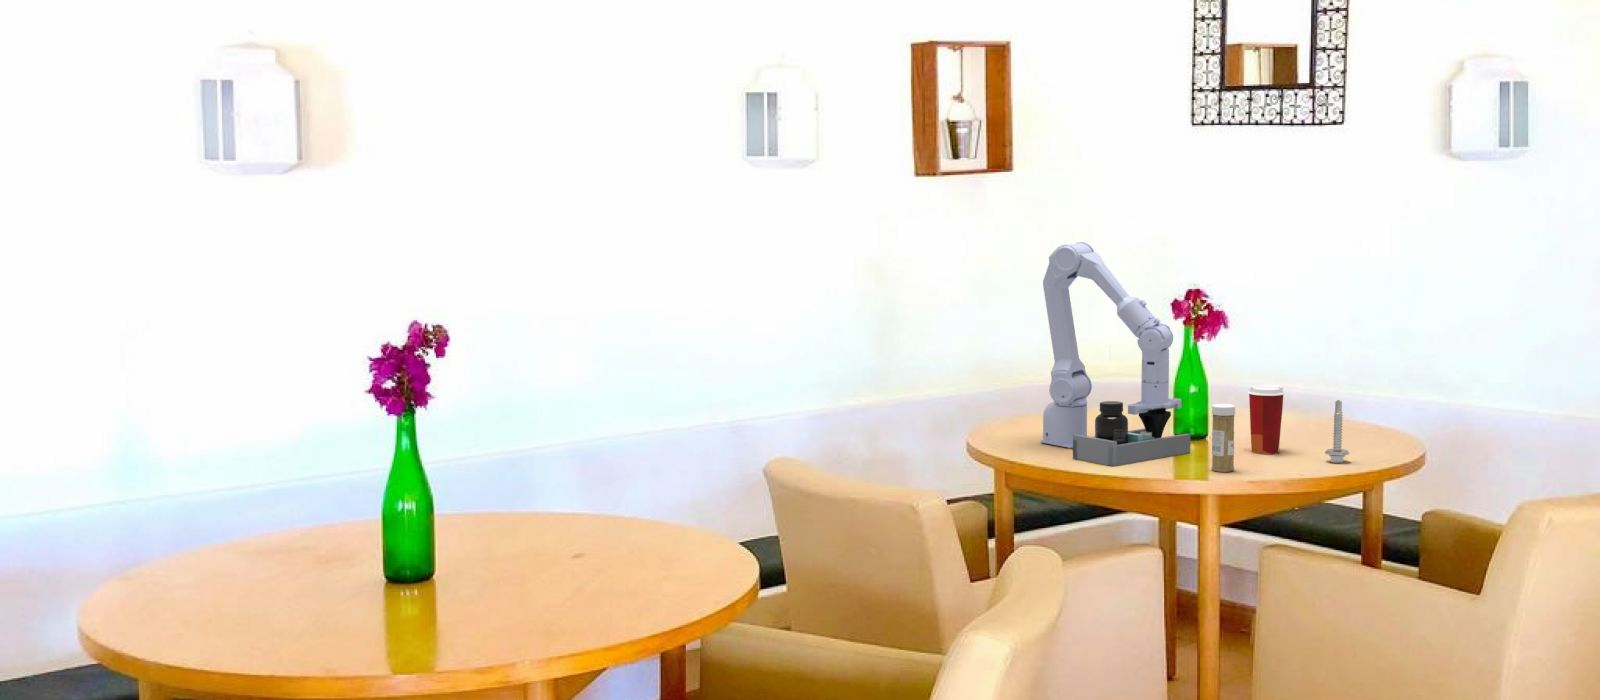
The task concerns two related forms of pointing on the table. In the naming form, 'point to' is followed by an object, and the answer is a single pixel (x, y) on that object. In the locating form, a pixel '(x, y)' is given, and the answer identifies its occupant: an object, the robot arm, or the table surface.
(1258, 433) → the paper cup
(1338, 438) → the screw
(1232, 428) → the brown spice jar
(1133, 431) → the grey tray
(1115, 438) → the supplement bottle
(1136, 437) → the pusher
